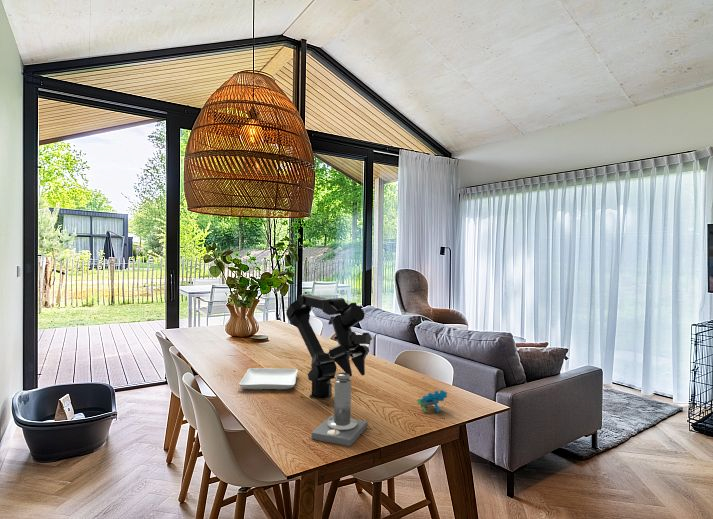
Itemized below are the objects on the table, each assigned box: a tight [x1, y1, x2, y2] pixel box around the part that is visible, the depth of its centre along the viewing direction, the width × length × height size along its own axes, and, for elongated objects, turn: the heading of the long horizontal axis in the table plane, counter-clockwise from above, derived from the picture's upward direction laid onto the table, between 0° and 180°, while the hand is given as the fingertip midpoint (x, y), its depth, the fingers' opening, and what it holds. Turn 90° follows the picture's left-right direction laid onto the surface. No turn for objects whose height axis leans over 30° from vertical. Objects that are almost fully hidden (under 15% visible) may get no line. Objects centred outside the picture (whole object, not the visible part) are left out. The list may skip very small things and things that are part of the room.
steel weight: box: [333, 372, 352, 426], centre depth 130 cm, size 5×5×14 cm
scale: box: [310, 414, 368, 447], centre depth 129 cm, size 12×14×2 cm
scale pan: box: [327, 417, 357, 431], centre depth 130 cm, size 9×9×1 cm
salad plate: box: [238, 367, 299, 390], centre depth 174 cm, size 21×21×3 cm
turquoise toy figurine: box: [416, 389, 448, 414], centre depth 149 cm, size 11×6×10 cm
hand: (357, 375), depth 145 cm, fingers open, 9 cm apart
